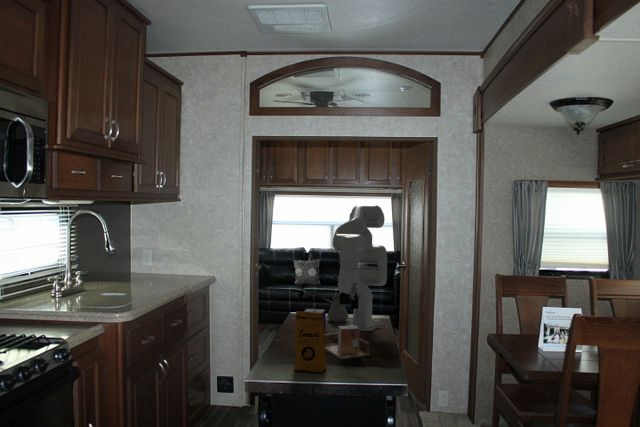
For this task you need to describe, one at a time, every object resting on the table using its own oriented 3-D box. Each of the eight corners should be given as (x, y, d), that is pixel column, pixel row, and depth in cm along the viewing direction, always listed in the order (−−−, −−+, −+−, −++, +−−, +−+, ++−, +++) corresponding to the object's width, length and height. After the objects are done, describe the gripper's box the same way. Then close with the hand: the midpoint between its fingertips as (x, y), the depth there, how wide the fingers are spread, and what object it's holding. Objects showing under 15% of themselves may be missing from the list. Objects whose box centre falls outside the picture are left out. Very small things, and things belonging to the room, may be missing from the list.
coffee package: (323, 375, 175) (324, 315, 174) (290, 372, 178) (291, 313, 177) (329, 366, 184) (329, 309, 184) (298, 364, 187) (298, 308, 187)
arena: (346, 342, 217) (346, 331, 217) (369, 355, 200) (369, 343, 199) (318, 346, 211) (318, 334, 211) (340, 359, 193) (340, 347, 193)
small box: (340, 354, 196) (340, 329, 196) (337, 350, 202) (337, 325, 201) (359, 353, 197) (359, 328, 197) (356, 349, 203) (356, 325, 203)
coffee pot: (350, 319, 263) (350, 292, 262) (346, 324, 251) (346, 295, 251) (312, 316, 268) (312, 290, 268) (307, 321, 257) (307, 293, 256)
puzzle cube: (321, 334, 231) (322, 314, 231) (301, 333, 233) (301, 312, 233) (325, 329, 241) (325, 309, 241) (306, 328, 243) (306, 308, 243)
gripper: (331, 263, 205) (331, 303, 206) (351, 268, 190) (351, 311, 190) (347, 262, 209) (346, 301, 209) (367, 267, 193) (367, 309, 193)
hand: (348, 306), depth 200 cm, fingers open, 9 cm apart
